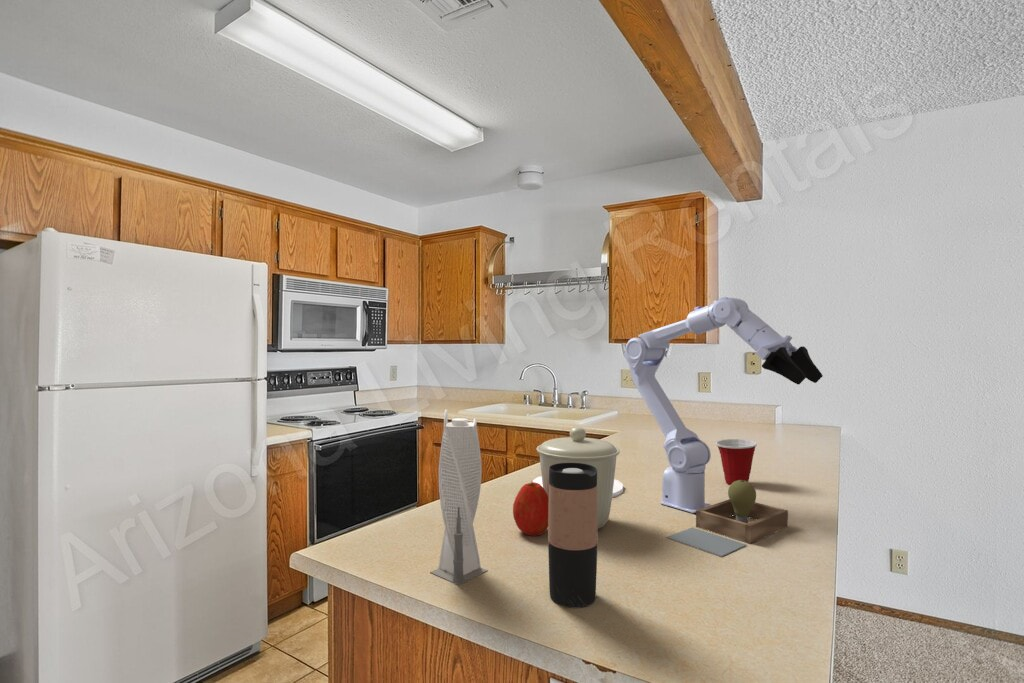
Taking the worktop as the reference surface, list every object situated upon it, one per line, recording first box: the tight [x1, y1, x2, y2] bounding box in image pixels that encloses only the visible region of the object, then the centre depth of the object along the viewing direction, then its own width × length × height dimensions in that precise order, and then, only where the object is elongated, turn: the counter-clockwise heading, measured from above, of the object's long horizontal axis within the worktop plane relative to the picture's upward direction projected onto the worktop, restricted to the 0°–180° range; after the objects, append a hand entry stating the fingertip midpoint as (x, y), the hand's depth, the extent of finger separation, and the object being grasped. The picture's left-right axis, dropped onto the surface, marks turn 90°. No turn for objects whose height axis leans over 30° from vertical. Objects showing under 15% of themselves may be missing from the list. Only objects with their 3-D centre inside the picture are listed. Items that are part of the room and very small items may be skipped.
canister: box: [536, 426, 621, 530], centre depth 114 cm, size 18×18×21 cm
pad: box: [666, 527, 747, 558], centre depth 104 cm, size 12×9×1 cm
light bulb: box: [727, 480, 757, 523], centre depth 112 cm, size 6×6×10 cm
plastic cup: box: [715, 438, 758, 486], centre depth 147 cm, size 11×11×12 cm
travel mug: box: [547, 463, 599, 609], centre depth 81 cm, size 8×8×20 cm
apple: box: [512, 481, 549, 537], centre depth 109 cm, size 8×8×11 cm
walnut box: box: [695, 499, 789, 545], centre depth 112 cm, size 12×16×4 cm
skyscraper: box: [429, 408, 489, 586], centre depth 90 cm, size 8×8×28 cm
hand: (810, 380), depth 104 cm, fingers open, 7 cm apart
